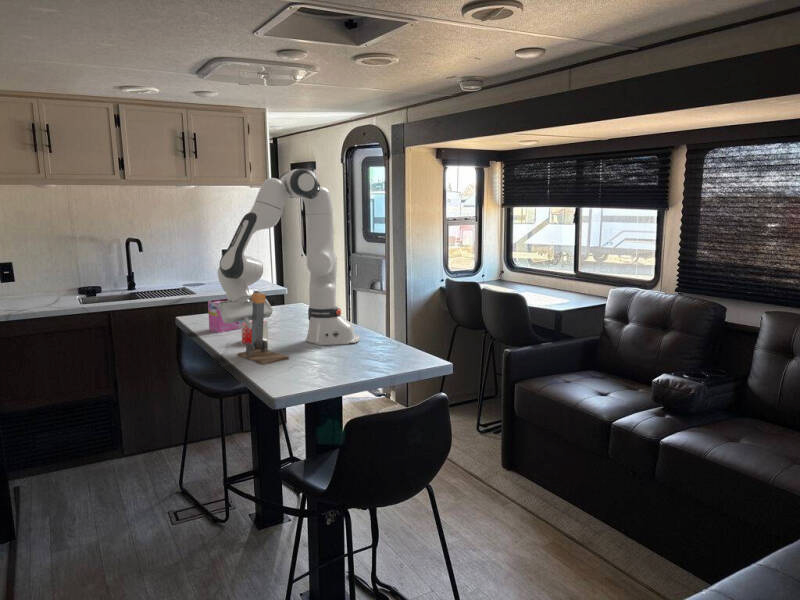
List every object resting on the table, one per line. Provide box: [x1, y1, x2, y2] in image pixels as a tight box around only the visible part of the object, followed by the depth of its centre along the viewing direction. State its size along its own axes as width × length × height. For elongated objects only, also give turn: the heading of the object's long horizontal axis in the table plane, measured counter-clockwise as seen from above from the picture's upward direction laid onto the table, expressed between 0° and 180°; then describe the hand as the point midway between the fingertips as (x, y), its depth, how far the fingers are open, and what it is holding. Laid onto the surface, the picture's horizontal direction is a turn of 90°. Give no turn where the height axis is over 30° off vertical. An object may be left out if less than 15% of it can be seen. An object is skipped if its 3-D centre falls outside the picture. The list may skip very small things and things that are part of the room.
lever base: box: [237, 340, 290, 365], centre depth 225 cm, size 18×11×5 cm, turn 45°
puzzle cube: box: [241, 320, 269, 344], centre depth 249 cm, size 8×8×8 cm
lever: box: [251, 292, 266, 351], centre depth 225 cm, size 4×4×22 cm
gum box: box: [207, 297, 252, 333], centre depth 275 cm, size 24×8×14 cm, turn 141°
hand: (254, 328), depth 227 cm, fingers closed, pressing on lever
